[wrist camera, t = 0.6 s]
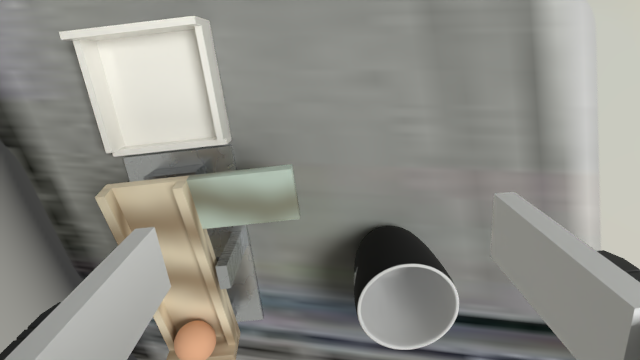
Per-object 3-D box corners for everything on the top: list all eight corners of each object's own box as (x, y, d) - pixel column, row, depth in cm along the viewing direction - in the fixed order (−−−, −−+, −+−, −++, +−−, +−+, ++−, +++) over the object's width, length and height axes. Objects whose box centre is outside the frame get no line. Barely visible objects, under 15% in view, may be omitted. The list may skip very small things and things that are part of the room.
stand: (125, 156, 38) (79, 180, 31) (231, 144, 38) (210, 165, 31) (173, 324, 45) (144, 377, 37) (263, 316, 44) (253, 367, 37)
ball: (176, 313, 38) (162, 347, 35) (214, 310, 38) (205, 343, 34) (186, 340, 40) (175, 375, 36) (223, 336, 40) (215, 371, 36)
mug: (336, 230, 41) (342, 282, 31) (414, 203, 40) (445, 249, 31) (369, 315, 45) (384, 386, 35) (442, 292, 44) (478, 359, 34)
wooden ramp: (108, 179, 32) (83, 206, 28) (292, 159, 31) (290, 184, 28) (177, 332, 42) (165, 366, 38) (318, 318, 41) (319, 351, 38)
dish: (90, 35, 35) (58, 31, 30) (209, 20, 34) (194, 15, 30) (123, 151, 38) (99, 163, 34) (231, 139, 38) (220, 150, 34)
